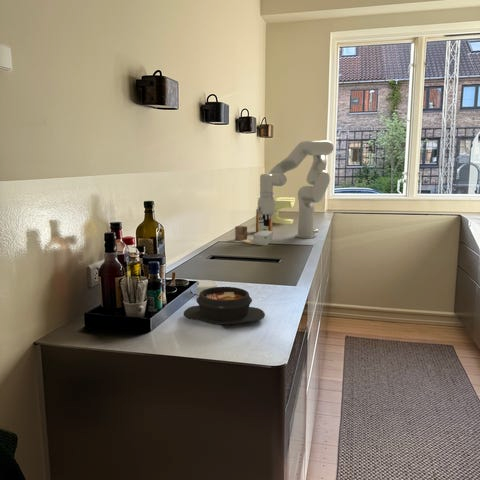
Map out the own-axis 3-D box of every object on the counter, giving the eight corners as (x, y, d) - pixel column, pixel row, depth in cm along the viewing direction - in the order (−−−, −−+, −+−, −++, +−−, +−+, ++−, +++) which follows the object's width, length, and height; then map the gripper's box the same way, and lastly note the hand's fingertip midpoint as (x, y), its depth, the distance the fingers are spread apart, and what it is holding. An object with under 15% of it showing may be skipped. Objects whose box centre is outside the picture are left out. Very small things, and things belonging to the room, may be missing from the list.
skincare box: (259, 239, 276) (252, 244, 262) (260, 229, 275) (252, 234, 261) (273, 240, 273) (266, 246, 260) (273, 230, 272) (266, 236, 258)
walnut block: (240, 238, 282) (240, 225, 280) (247, 239, 278) (247, 226, 277) (235, 239, 278) (235, 226, 276) (241, 240, 275) (241, 227, 273)
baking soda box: (272, 232, 307) (272, 208, 304) (270, 233, 301) (270, 209, 298) (258, 231, 310) (258, 207, 307) (256, 232, 303) (256, 208, 301)
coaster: (199, 298, 164) (199, 288, 163) (185, 291, 172) (185, 282, 171) (222, 293, 170) (222, 284, 169) (207, 286, 178) (207, 278, 177)
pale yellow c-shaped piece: (274, 219, 370) (275, 197, 367) (294, 220, 366) (295, 197, 363) (268, 224, 341) (268, 200, 338) (289, 225, 338) (290, 201, 335)
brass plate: (255, 239, 280) (255, 238, 280) (268, 242, 271) (268, 241, 271) (239, 241, 273) (239, 240, 273) (252, 244, 264) (252, 243, 264)
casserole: (177, 328, 134) (177, 301, 133) (189, 308, 152) (189, 283, 151) (264, 332, 132) (264, 304, 131) (265, 310, 151) (266, 285, 149)
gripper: (271, 193, 280) (271, 223, 283) (252, 195, 271) (252, 226, 274) (280, 194, 274) (279, 225, 278) (260, 196, 265) (260, 228, 269)
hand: (266, 225), depth 276 cm, fingers closed
